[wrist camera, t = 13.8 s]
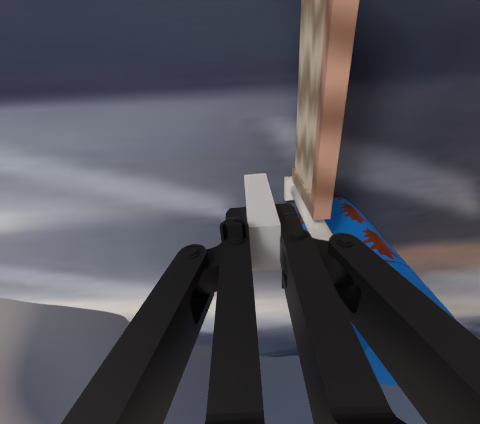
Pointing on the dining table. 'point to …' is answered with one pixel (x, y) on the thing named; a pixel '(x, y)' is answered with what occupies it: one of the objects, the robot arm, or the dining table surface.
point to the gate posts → (306, 212)
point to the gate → (322, 98)
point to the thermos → (356, 224)
